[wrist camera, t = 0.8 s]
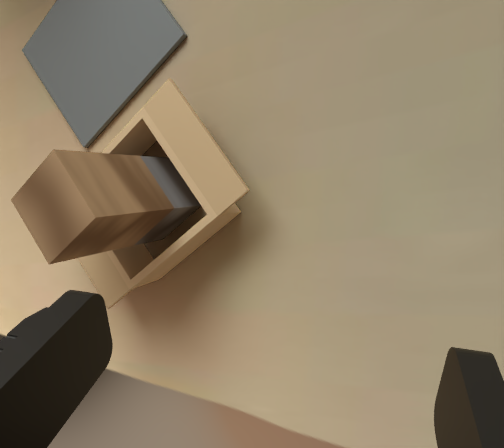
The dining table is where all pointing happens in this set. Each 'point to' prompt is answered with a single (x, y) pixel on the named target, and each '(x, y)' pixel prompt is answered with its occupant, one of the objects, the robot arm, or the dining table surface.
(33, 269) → the dining table surface
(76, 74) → the rubber mat
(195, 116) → the light wood hollow frame
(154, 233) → the walnut box
